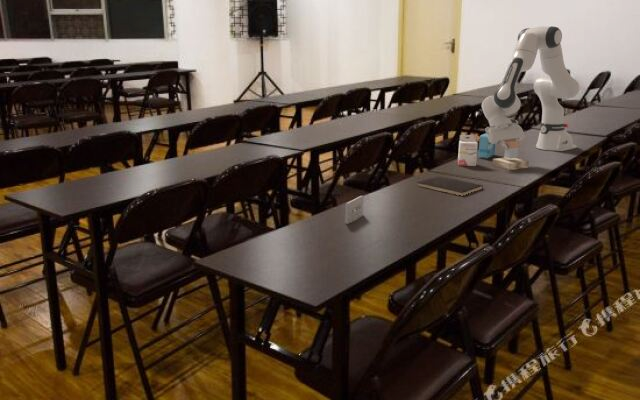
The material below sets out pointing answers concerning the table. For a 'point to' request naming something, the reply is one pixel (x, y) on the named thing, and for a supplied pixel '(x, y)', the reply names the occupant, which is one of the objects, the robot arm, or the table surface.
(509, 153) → the block
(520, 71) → the robot arm
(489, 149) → the data package
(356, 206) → the cassette
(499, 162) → the birch stand
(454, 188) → the hardcover book
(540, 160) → the table surface
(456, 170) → the table surface
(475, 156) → the ink cartridge box
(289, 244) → the table surface
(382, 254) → the table surface
